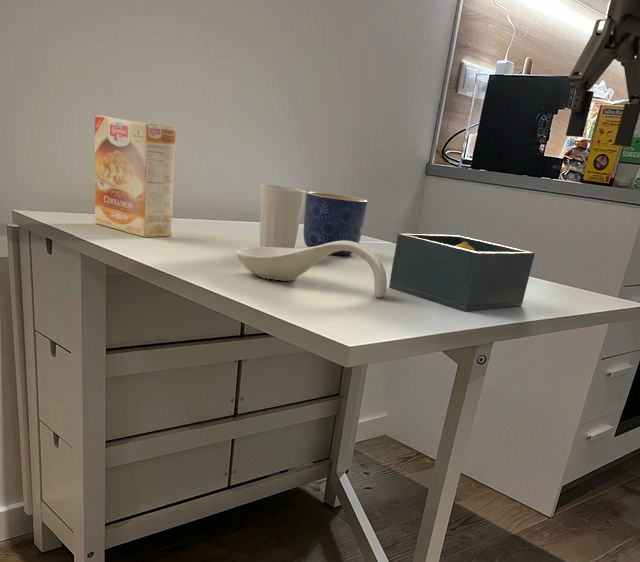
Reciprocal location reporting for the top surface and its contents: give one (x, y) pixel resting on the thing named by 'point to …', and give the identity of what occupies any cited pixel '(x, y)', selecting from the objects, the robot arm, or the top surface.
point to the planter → (333, 219)
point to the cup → (280, 215)
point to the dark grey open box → (460, 271)
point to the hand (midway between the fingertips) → (598, 141)
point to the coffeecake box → (134, 176)
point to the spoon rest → (306, 261)
